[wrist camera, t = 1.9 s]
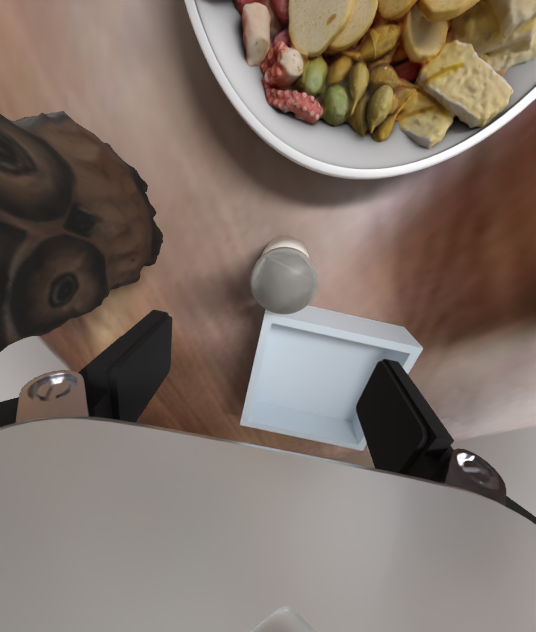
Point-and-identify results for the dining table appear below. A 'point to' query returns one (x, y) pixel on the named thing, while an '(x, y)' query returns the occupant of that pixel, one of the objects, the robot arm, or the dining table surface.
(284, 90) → the bowl
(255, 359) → the tote
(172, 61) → the dining table surface
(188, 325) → the dining table surface
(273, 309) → the canister
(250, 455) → the robot arm
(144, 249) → the owl
